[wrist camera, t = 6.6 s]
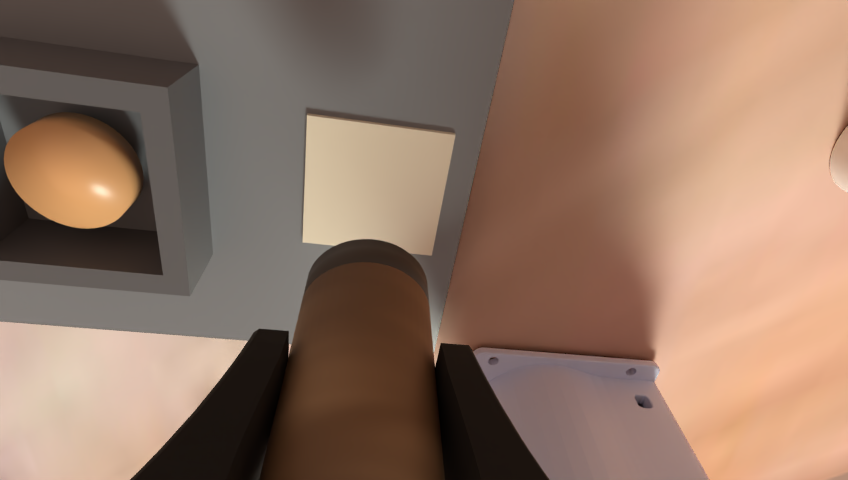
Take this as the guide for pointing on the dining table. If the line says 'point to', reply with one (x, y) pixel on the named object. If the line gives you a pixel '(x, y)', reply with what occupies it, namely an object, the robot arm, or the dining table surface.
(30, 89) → the switch panel
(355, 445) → the brown cylinder
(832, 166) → the tube
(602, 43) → the dining table surface
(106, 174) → the breaker button
